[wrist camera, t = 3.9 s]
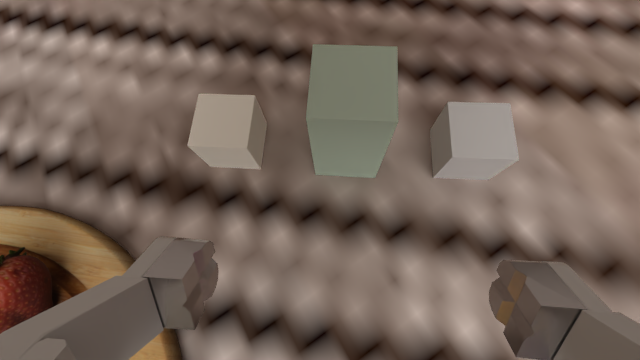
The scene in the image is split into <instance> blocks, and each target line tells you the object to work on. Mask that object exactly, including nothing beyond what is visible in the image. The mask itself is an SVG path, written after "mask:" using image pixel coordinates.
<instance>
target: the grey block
mask: <svg viewBox="0 0 640 360" xmlns="http://www.w3.org/2000/svg"><path fill="white" fill-rule="evenodd" d="M430 137H431V154H432V171H433V178H451V179H475V180H489V179H491V178H492V177H494V176H495V175H497V174H498V173H500V172H501V171H503V170H504V169H506V168H507V167H509V166H511V165H512V164H514V163H515V162H517V161H518V160H519V156H518V149H517V143H516V137H515V130H514V124H513V118H512V111H511V105H510V103H478V102H447V104H446V105H445V107H444V108H443V110H442V112H441V113H440V115H439V116H438V118H437V119H436V121H435V123H434V124H433V126H432V127H431V129H430Z"/></svg>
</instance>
